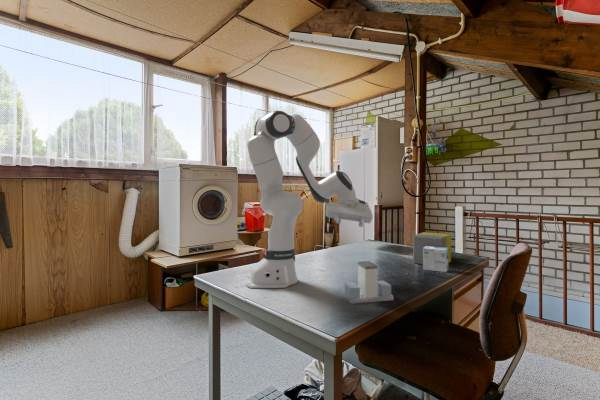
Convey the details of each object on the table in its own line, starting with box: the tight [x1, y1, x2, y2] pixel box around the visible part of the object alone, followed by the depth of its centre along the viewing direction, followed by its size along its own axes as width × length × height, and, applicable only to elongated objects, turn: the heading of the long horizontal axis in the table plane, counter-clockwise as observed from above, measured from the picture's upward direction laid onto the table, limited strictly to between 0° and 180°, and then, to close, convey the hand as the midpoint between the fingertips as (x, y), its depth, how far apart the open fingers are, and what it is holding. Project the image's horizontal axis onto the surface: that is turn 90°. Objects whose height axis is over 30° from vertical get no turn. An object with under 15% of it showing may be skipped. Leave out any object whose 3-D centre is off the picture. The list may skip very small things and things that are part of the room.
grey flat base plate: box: [342, 290, 394, 305], centre depth 113 cm, size 16×8×2 cm, turn 101°
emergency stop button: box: [412, 231, 452, 266], centre depth 167 cm, size 15×24×15 cm, turn 139°
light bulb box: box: [422, 246, 449, 273], centre depth 151 cm, size 11×7×11 cm, turn 58°
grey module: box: [357, 260, 378, 297], centre depth 113 cm, size 5×7×11 cm, turn 11°
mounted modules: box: [344, 280, 392, 298], centre depth 113 cm, size 16×6×4 cm, turn 101°
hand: (350, 223), depth 129 cm, fingers open, 8 cm apart
